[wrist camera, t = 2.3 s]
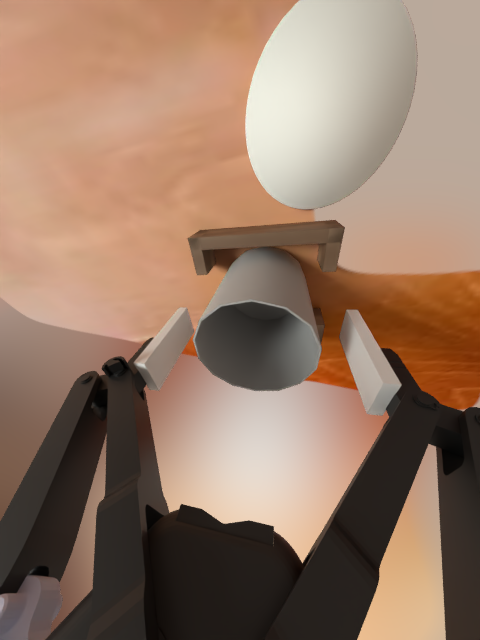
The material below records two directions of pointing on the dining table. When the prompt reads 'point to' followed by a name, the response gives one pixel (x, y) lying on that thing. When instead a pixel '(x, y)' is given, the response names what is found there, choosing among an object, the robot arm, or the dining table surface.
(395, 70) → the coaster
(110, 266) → the dining table surface
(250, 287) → the cup
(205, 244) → the pocket holder
